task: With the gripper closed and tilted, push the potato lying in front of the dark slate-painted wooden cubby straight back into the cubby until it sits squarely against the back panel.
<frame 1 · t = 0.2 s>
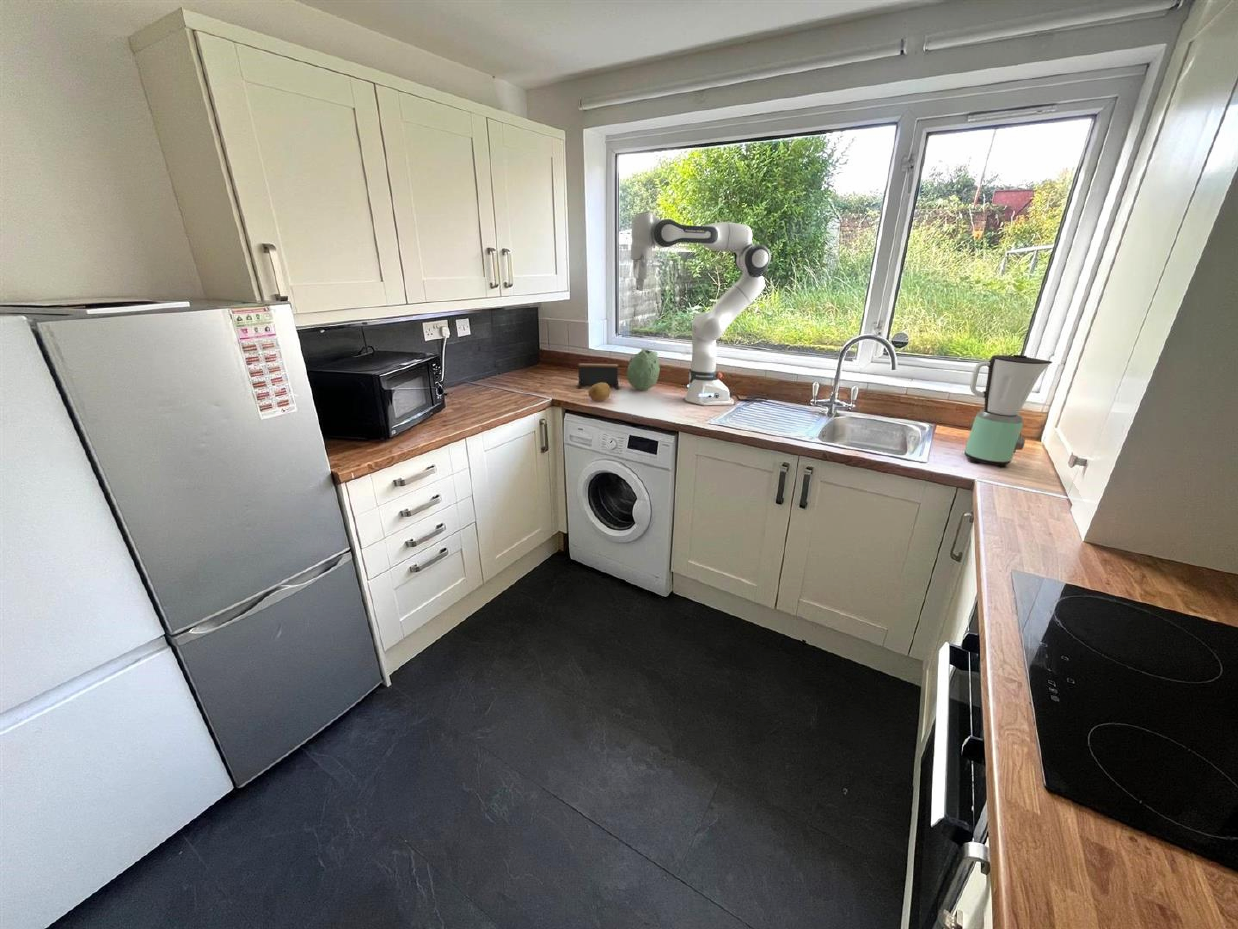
hand: (639, 290, 212), 48 cm above the countertop, tool pointing down, fingers open, 8 cm apart
green rounded bumpy piece: (642, 390, 249), on the countertop
potato: (599, 400, 226), on the countertop
shoe shelf: (598, 389, 247), on the countertop
green blender: (982, 461, 168), on the countertop
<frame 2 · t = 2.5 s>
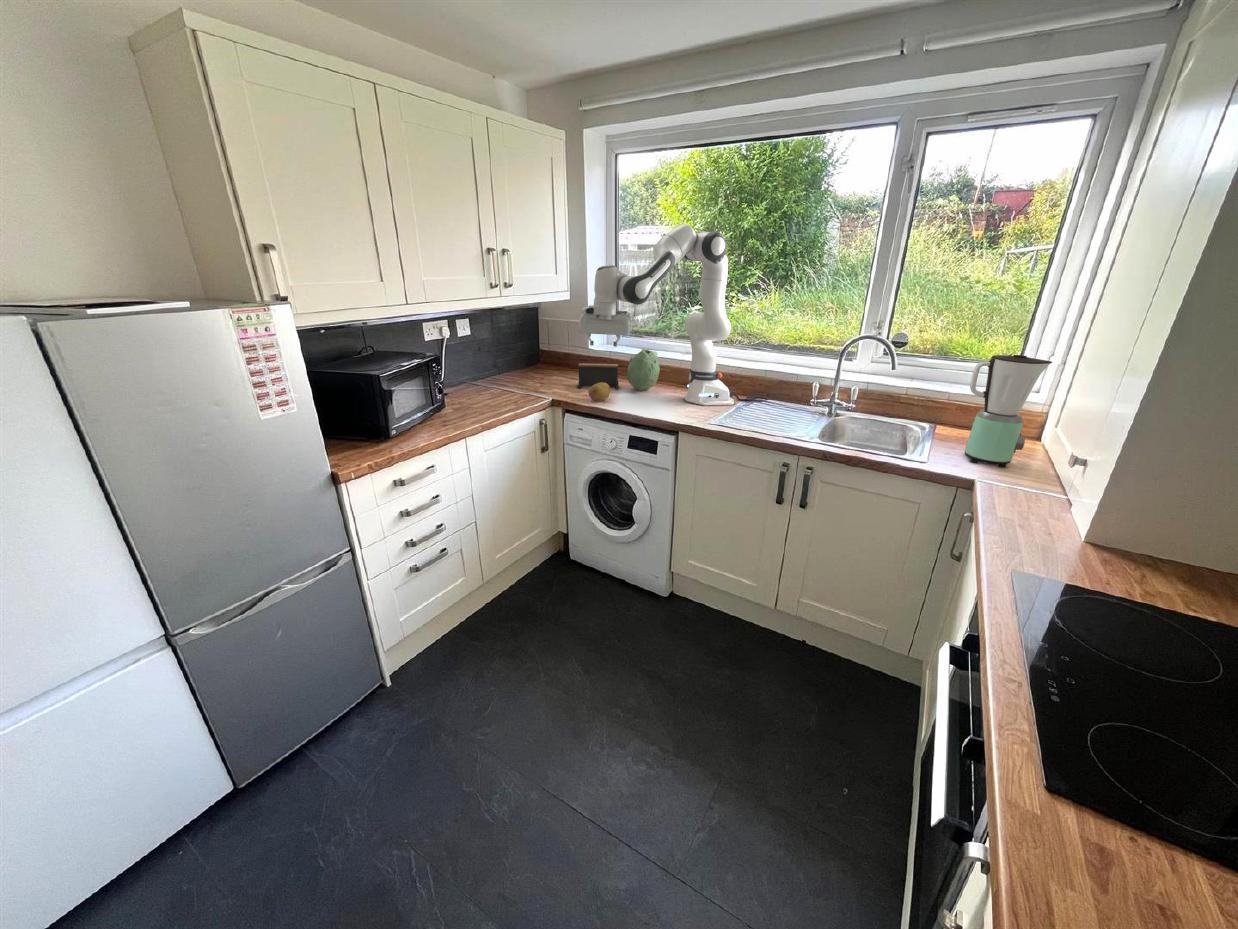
hand: (603, 345, 200), 27 cm above the countertop, tool pointing down, fingers open, 8 cm apart
nothing on the countertop moved.
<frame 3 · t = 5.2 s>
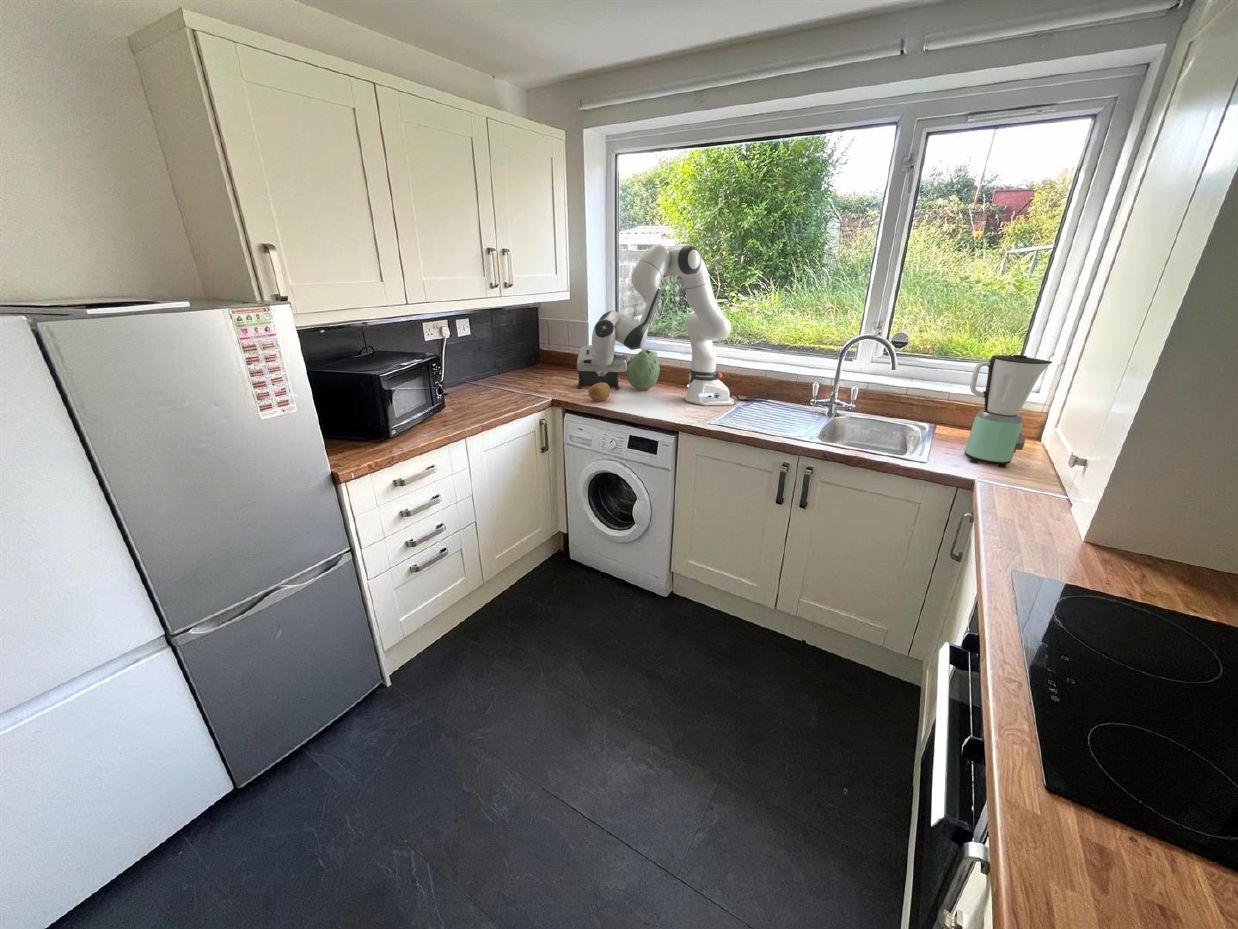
hand: (601, 374, 206), 15 cm above the countertop, tool tilted 45°, fingers closed
nothing on the countertop moved.
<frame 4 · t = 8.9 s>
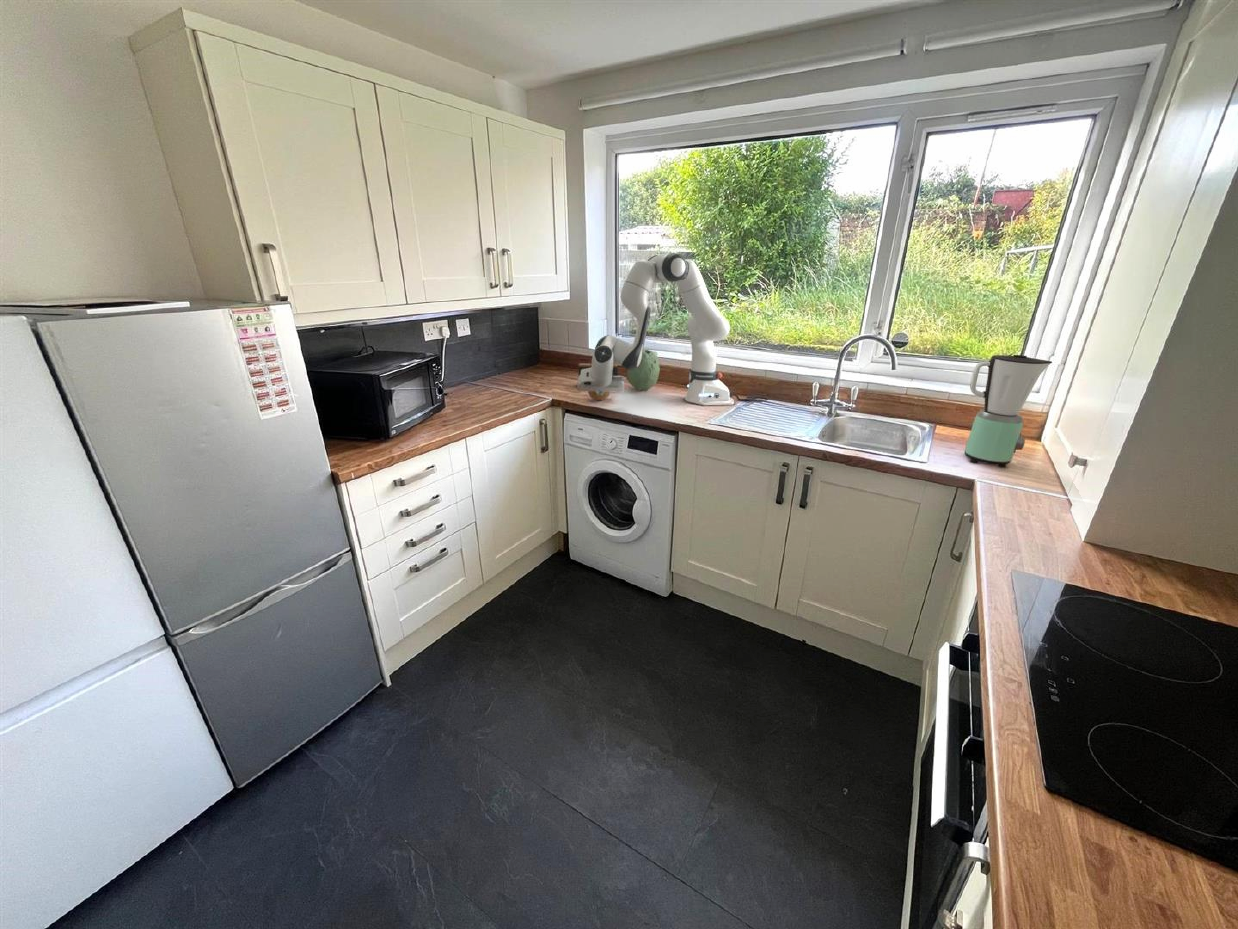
hand: (600, 393, 220), 4 cm above the countertop, tool tilted 45°, fingers closed
potato: (599, 399, 228), on the countertop, touching gripper
everything else where it was.
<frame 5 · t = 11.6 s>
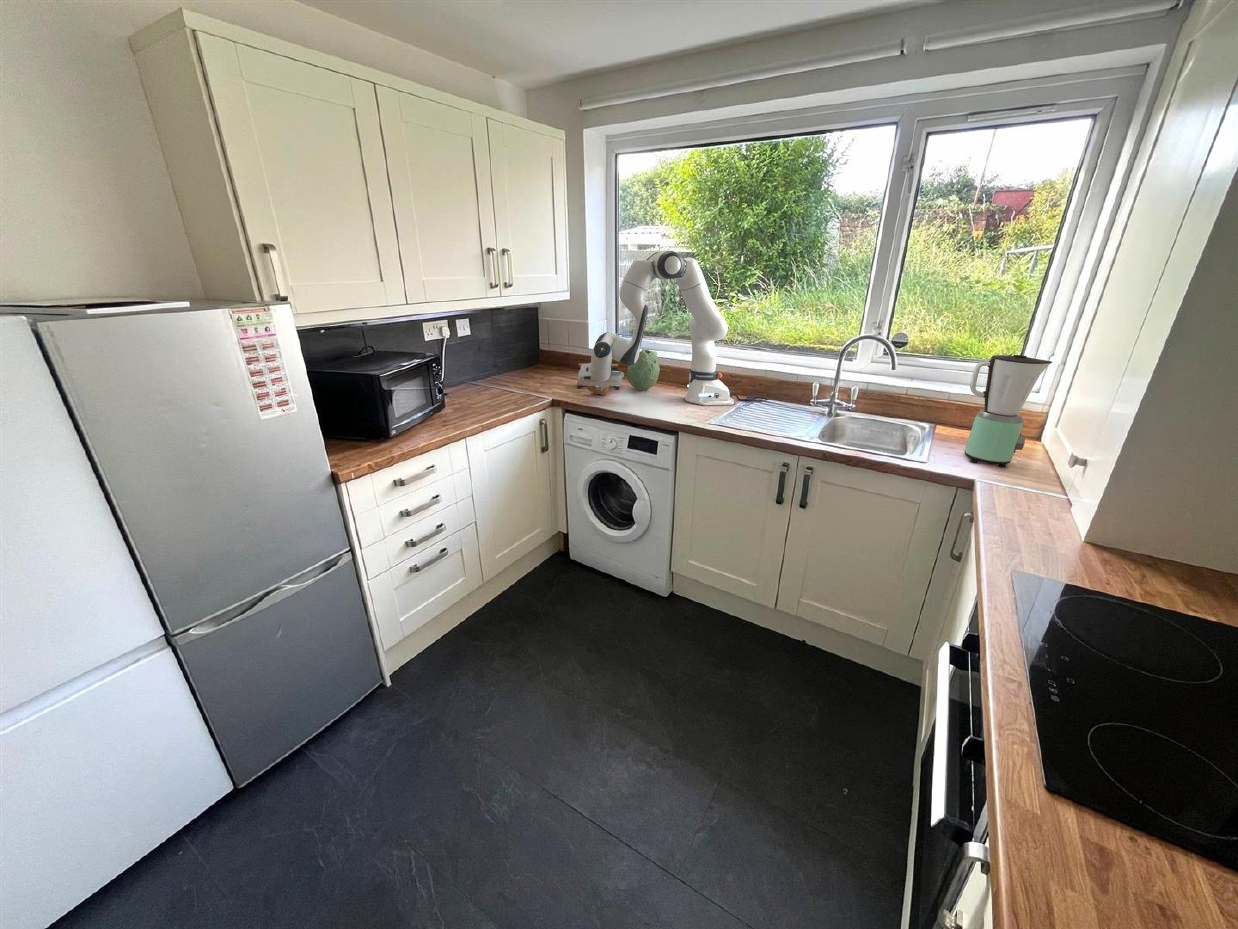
hand: (599, 388, 230), 4 cm above the countertop, tool tilted 45°, fingers closed
potato: (598, 394, 238), on the countertop, touching gripper
everything else where it was.
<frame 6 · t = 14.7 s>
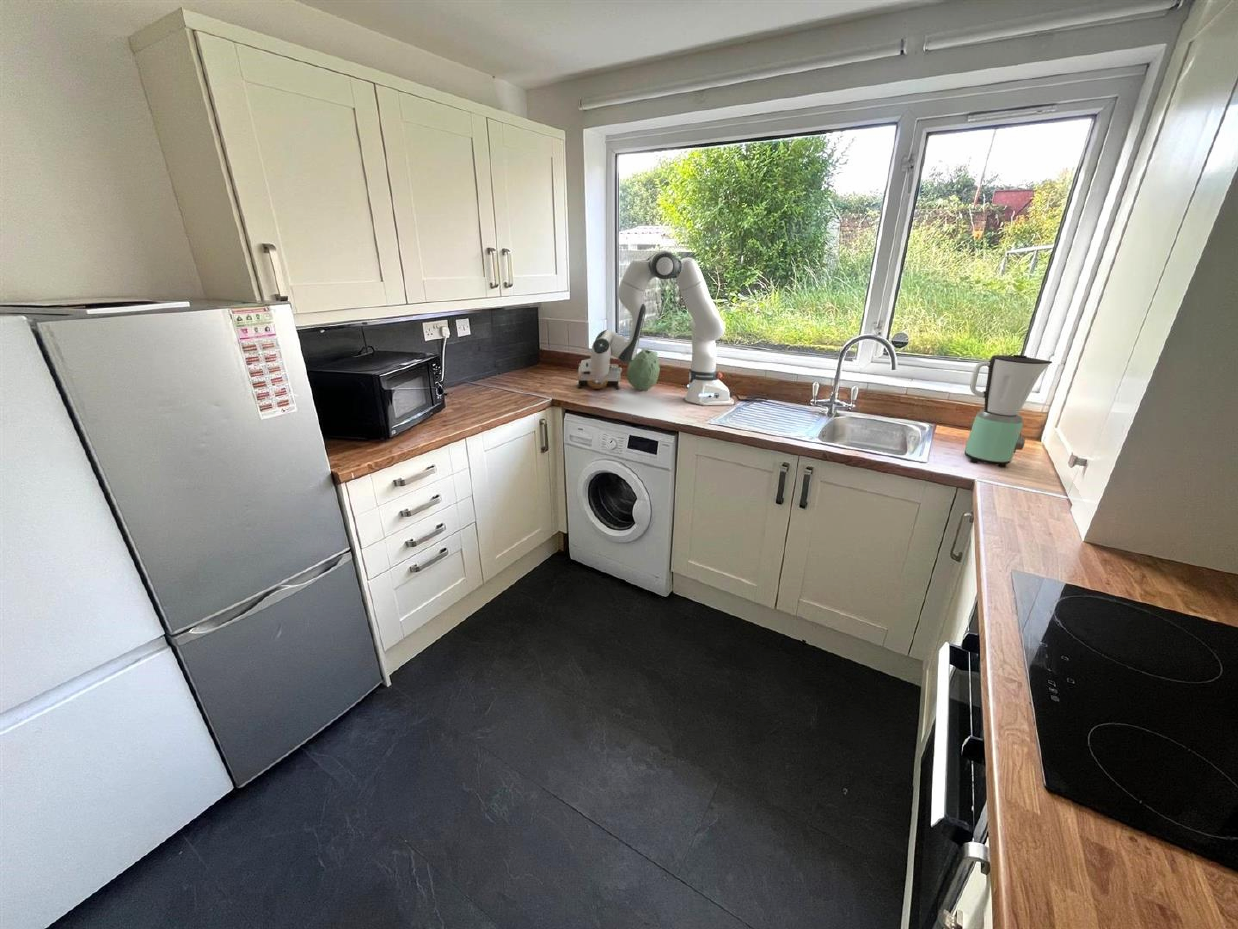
hand: (598, 383, 240), 4 cm above the countertop, tool tilted 45°, fingers closed
potato: (598, 389, 248), on the countertop, touching gripper
everything else where it was.
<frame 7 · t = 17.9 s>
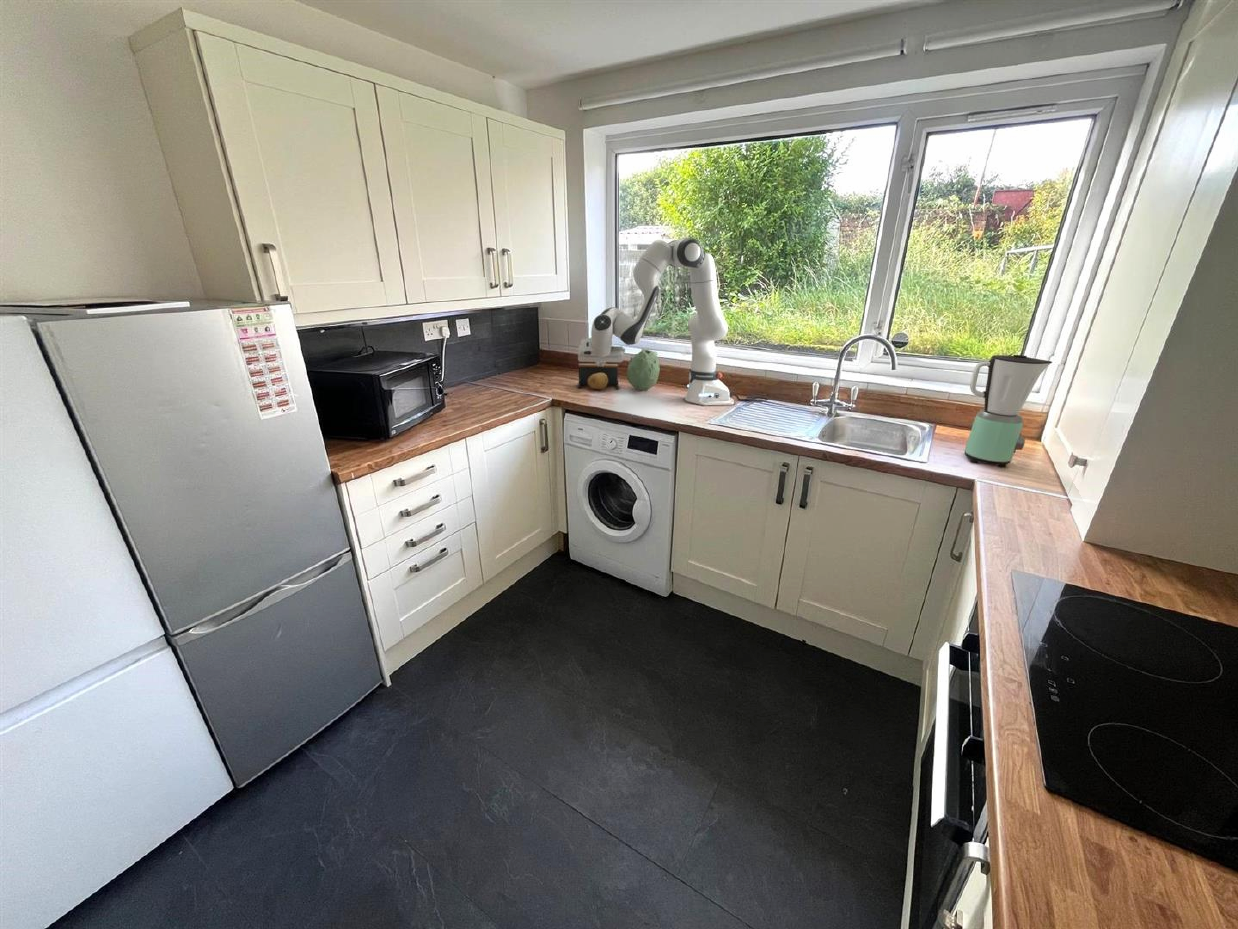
hand: (600, 365, 225), 15 cm above the countertop, tool tilted 45°, fingers closed
potato: (598, 389, 248), on the countertop
everything else where it was.
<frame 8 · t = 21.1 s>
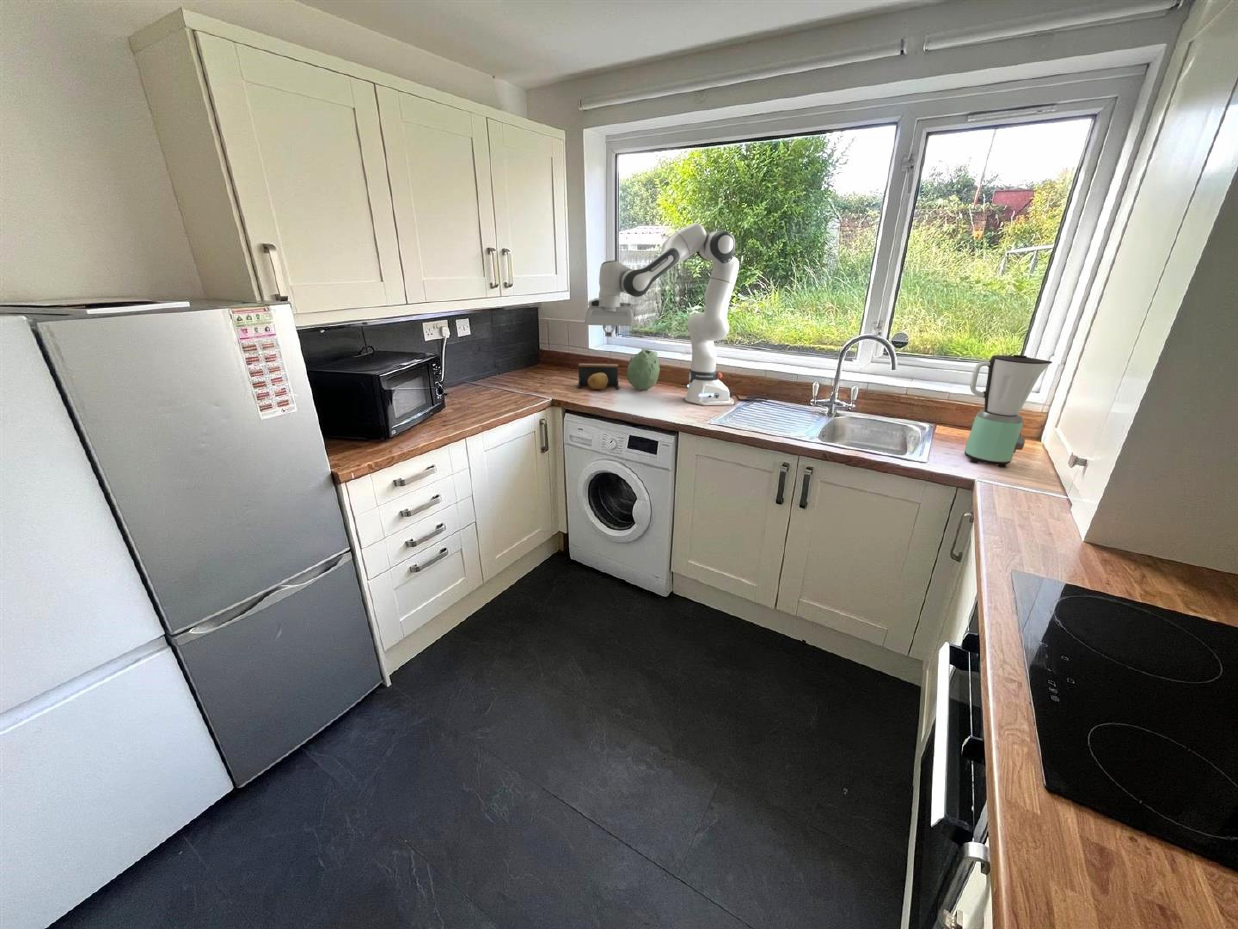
hand: (608, 336, 211), 29 cm above the countertop, tool pointing down, fingers closed
nothing on the countertop moved.
at the end: potato inside the target area on the shoe shelf (2.8 cm from its centre), point 0.0 cm above the shoe shelf's base; potato moved 23.2 cm from its start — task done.
